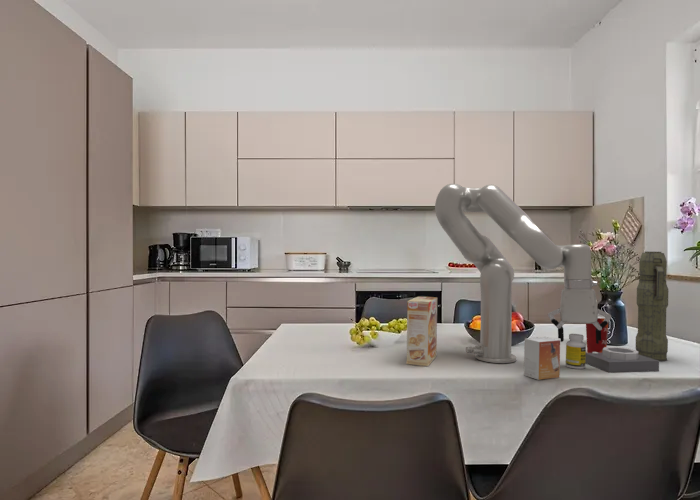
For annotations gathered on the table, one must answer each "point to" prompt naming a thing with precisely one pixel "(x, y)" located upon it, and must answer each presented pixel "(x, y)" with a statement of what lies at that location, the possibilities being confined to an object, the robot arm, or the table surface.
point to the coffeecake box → (421, 330)
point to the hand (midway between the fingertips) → (579, 342)
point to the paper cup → (591, 336)
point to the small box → (542, 358)
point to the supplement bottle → (575, 352)
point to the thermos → (652, 306)
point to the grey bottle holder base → (621, 360)
